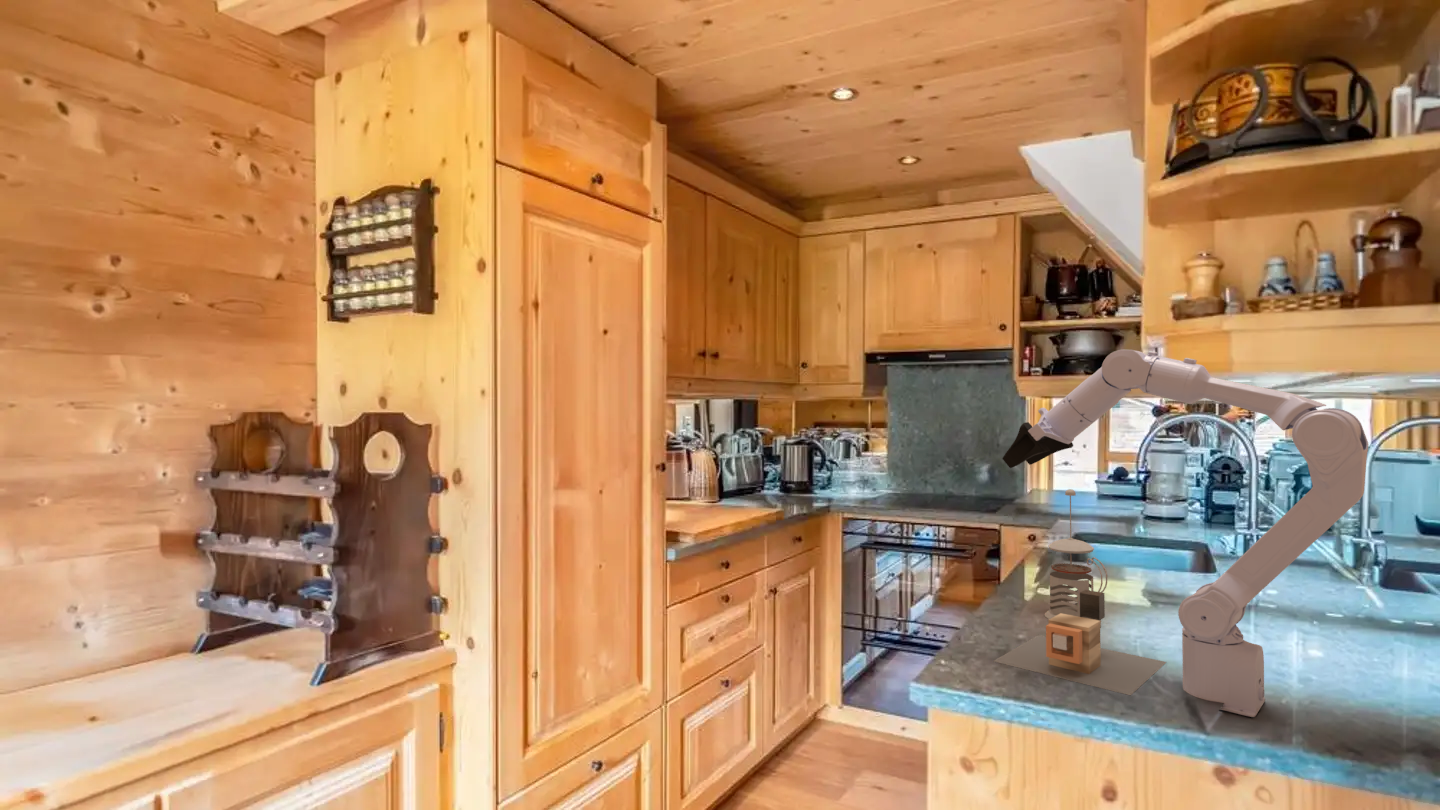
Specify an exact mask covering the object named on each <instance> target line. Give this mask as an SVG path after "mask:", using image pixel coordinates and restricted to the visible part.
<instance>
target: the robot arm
mask: <svg viewBox="0 0 1440 810" xmlns="http://www.w3.org/2000/svg"><path fill="white" fill-rule="evenodd" d="M1197 361H1198V360H1197V359H1194V358H1189V357H1185V358H1184V359H1183V360H1179V359H1175V358H1171V357H1165V356H1161V355H1159V353H1158V352H1157V351H1152V350H1151V351H1150V350H1149V351H1148V352H1147V354H1146V353H1145V352H1142V351H1139V350H1134V349H1124V348H1123V349H1118V350H1115V351H1112V352H1111V353H1109V354H1108V355H1107V356H1106V357H1105V359H1104V360H1103V362H1102V364H1101V367H1100V368H1098V369H1097V370H1096V371H1095V372H1094V373H1093V374H1091V375H1089V376H1088V377H1086V378H1085V379H1084V380H1083V381H1082V382H1081V383H1079V384H1078V385H1077V386H1076V387H1075V388H1074V389H1072V391H1071V392H1069V393H1068V394H1067V395H1065V396H1064V397H1063V398H1062V399H1061V400H1059V402H1058V403H1056V405H1054V406H1053V407H1051V409H1049V410H1048V409H1047V408H1046V407H1040V408H1039V409H1038V410H1037V411H1038V413H1039V414H1040V417H1039V420H1038V422H1036V424H1033V425H1031V423H1030V422H1028V421H1027V422H1023V423H1022V424H1021V425H1020V426H1019V429H1018V431H1017V432H1018V433H1017V435H1016V437H1015V439H1014V441H1013V443H1012V444H1011V445H1010V446H1009V448H1008V450H1007V451H1006V452H1005V454H1004V455H1003V456H1002V458H1001V459H1002V461H1003V462H1004V463H1005V464H1006V465H1007V467H1008V468H1010V469H1013V468H1015V467H1017V466H1019V465H1020V464H1022V463H1024V462H1025V461H1026V462H1027V464H1028V465H1029V466H1031V465H1034V464H1036V463H1038V462H1039V461H1041V460H1043V459H1045V458H1047V457H1049V456H1050V455H1052V454H1054V453H1058V452H1060V451H1064V450H1067V449H1072V448H1073V447H1074V443H1073V442H1074V440H1075V439H1076V438H1077V436H1079V435H1080V434H1081V433H1083V432H1084V431H1085V430H1086V429H1088V428H1089V427H1090V426H1092V424H1094V423H1095V422H1096V421H1097V420H1099V418H1102V416H1104V415H1105V414H1106V413H1107V412H1109V411H1110V410H1111V409H1113V408H1114V407H1115V406H1116V405H1117V404H1118V403H1119V402H1120V401H1121V400H1122V399H1123V398H1124V397H1126V395H1128V394H1129V393H1130V392H1132V390H1136V389H1137V390H1138V389H1140V391H1142V392H1143V393H1145V394H1149V395H1152V396H1156V397H1160V398H1165V399H1167V400H1172V401H1175V402H1180V403H1184V404H1189V405H1192V404H1195V403H1196V402H1199V401H1200V400H1202V399H1208V400H1211V401H1214V402H1218V403H1221V404H1225V405H1229V406H1231V407H1232V406H1233V407H1236V408H1240V409H1244V410H1248V411H1251V412H1255V413H1258V414H1262V415H1265V416H1267V417H1268V418H1269V419H1271V421H1272V422H1273V423H1275V424H1276V425H1277V426H1278V427H1279V428H1280V430H1281V431H1287V430H1291V429H1292V430H1291V437H1292V442H1293V445H1295V447H1296V448H1297V450H1298V452H1299V453H1300V454H1301V456H1302V458H1304V460H1305V461H1306V463H1307V467H1308V472H1309V475H1310V480H1311V484H1312V487H1311V489H1310V490H1309V491H1308V492H1307V493H1305V494H1304V495H1303V497H1301V498H1300V499H1299V500H1298V501H1297V502H1296V503H1295V504H1294V505H1293V506H1292V507H1291V508H1290V509H1289V510H1288V511H1287V512H1286V513H1285V514H1283V515H1282V517H1280V518H1279V520H1277V521H1276V523H1274V524H1273V525H1272V526H1271V528H1269V529H1268V530H1267V531H1266V532H1265V533H1264V534H1263V535H1262V536H1261V537H1259V539H1258V540H1256V542H1254V544H1253V545H1251V547H1249V548H1248V550H1246V551H1245V552H1244V553H1243V555H1241V556H1240V557H1239V558H1238V559H1237V560H1236V561H1235V562H1234V563H1233V564H1232V565H1231V566H1230V567H1229V568H1228V569H1227V570H1226V571H1225V572H1224V573H1222V575H1220V576H1219V577H1217V579H1216V580H1214V582H1209V583H1206V584H1203V585H1201V586H1200V587H1199V588H1198V589H1196V592H1194V593H1193V594H1191V595H1189V596H1187V597H1185V598H1184V599H1183V600H1182V601H1181V603H1180V604H1179V607H1178V613H1177V615H1178V619H1179V622H1180V624H1181V626H1182V628H1181V630H1182V631H1181V632H1182V635H1181V637H1182V642H1181V643H1182V644H1181V645H1182V654H1181V655H1182V690H1183V691H1184V692H1185V693H1187V694H1189V695H1191V696H1193V697H1196V698H1199V699H1202V700H1205V701H1208V702H1209V701H1210V702H1215V703H1221V704H1222V703H1223V704H1222V706H1221V707H1220V708H1219V711H1220V710H1222V711H1225V712H1229V713H1233V714H1236V715H1237V714H1238V715H1242V716H1246V717H1249V718H1250V717H1251V718H1255V717H1256V716H1257V714H1258V712H1259V711H1260V710H1261V708H1262V707H1263V705H1264V703H1265V702H1266V698H1265V662H1264V661H1265V659H1264V658H1265V655H1264V650H1263V649H1264V648H1263V646H1262V645H1260V644H1256V643H1252V642H1249V641H1247V640H1245V639H1244V635H1243V634H1242V632H1241V630H1240V629H1239V627H1238V625H1237V624H1238V623H1240V621H1242V620H1243V618H1244V615H1245V612H1246V608H1247V605H1248V604H1249V603H1250V602H1251V601H1252V600H1253V599H1254V598H1255V597H1256V596H1257V595H1258V594H1259V593H1260V592H1262V591H1263V590H1264V589H1265V588H1266V587H1267V586H1269V584H1270V583H1272V582H1273V581H1274V579H1276V578H1277V577H1278V576H1279V575H1280V574H1282V573H1283V572H1284V570H1286V569H1287V568H1288V567H1289V566H1290V565H1291V564H1292V563H1293V562H1294V561H1296V559H1297V558H1298V557H1299V556H1301V555H1302V554H1303V553H1304V552H1305V551H1306V550H1307V549H1308V548H1309V547H1311V546H1312V544H1314V543H1315V542H1316V541H1317V540H1319V538H1321V536H1322V535H1324V533H1326V532H1327V531H1328V530H1329V529H1330V528H1331V527H1332V526H1333V525H1334V524H1335V523H1336V522H1338V520H1340V519H1341V518H1342V517H1343V516H1344V515H1346V513H1347V512H1349V510H1351V508H1352V507H1354V506H1355V505H1356V504H1357V503H1358V502H1359V501H1360V500H1361V498H1362V497H1363V495H1364V493H1365V484H1366V471H1367V459H1368V451H1369V442H1368V439H1367V435H1366V433H1365V431H1364V428H1363V425H1362V423H1361V422H1360V420H1359V419H1358V418H1357V417H1356V416H1355V415H1354V414H1353V413H1351V412H1349V411H1347V410H1345V409H1340V408H1337V407H1336V408H1334V407H1332V408H1331V407H1328V408H1323V409H1317V408H1322V407H1326V406H1327V404H1325V403H1322V402H1320V401H1317V400H1313V399H1311V398H1307V397H1305V396H1302V395H1298V394H1296V393H1292V392H1288V391H1282V390H1278V389H1277V390H1276V389H1272V388H1267V387H1262V386H1257V385H1253V384H1247V383H1241V382H1237V381H1233V380H1227V379H1222V378H1217V377H1213V376H1212V375H1211V374H1210V373H1209V371H1208V369H1207V367H1205V366H1204V365H1202V364H1200V363H1199V364H1198V363H1197Z"/></svg>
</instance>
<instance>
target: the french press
mask: <svg viewBox="0 0 1440 810" xmlns="http://www.w3.org/2000/svg"><path fill="white" fill-rule="evenodd" d="M1064 496H1069V537H1068V538H1062V539H1057V540H1054V541H1052V542H1051V543H1050V544H1048V549H1049V550H1051V551H1053V552H1058V553H1063V554H1064V553H1065V554H1069V555H1070V556H1069V557H1070V558H1069V560H1070V563H1060V562H1059V563H1055V564H1052V565H1051V566H1050V568H1051V569H1052V570H1053V571H1051V572H1049V610H1047V611H1046V612H1044V617H1045V618H1046V619H1048V620H1049V619H1051V618H1053V617H1055V616H1056V615H1058V614H1060V613H1062V614H1067V615H1073V616H1078V617H1080V592H1082V591H1084V590H1089V591H1094V576H1093V575H1091V574H1090V573H1091V572H1092V571H1093V570H1092V568H1091V567H1090V566H1092V565H1093V564H1094V565H1095V566H1096V568H1097V569H1098V571H1099V573H1100V585H1099V588H1098V591H1097V592H1101V593H1105V590H1106V588H1107V585H1108V573H1107V569H1106V567H1105V565H1104V564H1103V562H1102V561H1100V560H1099V559H1098V558H1096V557H1095V556H1093V557H1092V558H1089V557H1088V558H1087V559H1086V565H1082V564H1080V565H1079V564H1075V563H1072V554H1074V555H1075V554H1079V555H1080V554H1082V555H1083V554H1090V553H1092V552H1093V551H1094V550H1095V547H1093V546H1092V545H1091V544H1089V543H1088V542H1085V541H1083V540H1079V539H1075V538H1073V537H1072V496H1075V497H1076V490H1074V489H1072V488H1071V489H1070V488H1068V489H1067V490H1066V491H1065V494H1064ZM1094 560H1096V561H1097V562H1099V564H1100V565H1101V566H1102V568H1103V570H1104V574H1105V585H1104V587H1103V583H1104V582H1103V573H1102V570H1101V568H1100V566H1099V565H1098V564H1097V562H1096V561H1094ZM1089 561H1091V563H1089ZM1102 587H1103V589H1102ZM1073 589H1077V590H1073ZM1090 589H1091V590H1090ZM1072 595H1074V596H1075V597H1074V596H1072ZM1072 602H1075V603H1072Z"/></svg>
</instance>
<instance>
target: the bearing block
mask: <svg viewBox="0 0 1440 810" xmlns="http://www.w3.org/2000/svg"><path fill="white" fill-rule="evenodd" d="M1047 621H1048V623H1047V625H1048V624H1055V625H1060V626H1065V627H1070V628H1075V629H1080V630H1082V655H1083V662H1081V663H1080V664H1076V663H1072V662H1067V661H1063V660H1059V659H1054V658H1050V657H1049V665H1053V666H1058V667H1062V668H1066V669H1070V670H1074V671H1079V672H1083V673H1087V674H1090V673H1091V672H1093V671H1094V670H1095V669H1096V668H1098V667H1099V666H1100V665H1101V653H1100V648H1101V628H1100V621H1099V620H1094V619H1089V618H1083V617H1078V616H1073V615H1067V614H1062V613H1060V614H1058V615H1056V616H1055V617H1053V618H1051V619H1048V620H1047ZM1055 650H1056V651H1061V652H1065V653H1070V654H1073V646H1072V647H1071V648H1069V649H1068V650H1063V649H1058V648H1055Z"/></svg>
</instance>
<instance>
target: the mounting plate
mask: <svg viewBox="0 0 1440 810" xmlns="http://www.w3.org/2000/svg"><path fill="white" fill-rule="evenodd" d="M1100 653H1101V665H1100V666H1099V667H1098V668H1096V669H1095V670H1094V671H1093V672H1091V673H1090V674H1087V673H1083V672H1079V671H1074V670H1070V669H1066V668H1062V667H1058V666H1053V665H1049V657H1046V635H1041V634H1037V635H1036V636H1034V637H1032V638H1030V639H1028V640H1026V642H1024V643H1022V644H1021V645H1019V646H1017V647H1015V648H1013V649H1012V650H1010V651H1007V652H1006V653H1005V654H1003V655H1001V656H1000V657H998V658H996V659H994V660H993V661H992V662H993V663H996V664H997V663H998V664H1001V665H1007V666H1009V667H1015V668H1018V669H1023V670H1024V671H1025V670H1026V671H1031V672H1034V673H1038V674H1042V675H1046V676H1050V677H1055V678H1058V679H1063V680H1066V681H1070V682H1075V683H1079V684H1083V685H1087V686H1091V687H1094V688H1095V687H1096V688H1099V689H1103V690H1106V691H1111V692H1115V693H1118V694H1123V695H1128V696H1132V695H1133V694H1135V692H1136V691H1137V690H1138V689H1140V688H1141V687H1142V686H1143V685H1144V684H1145V683H1146V682H1147V681H1148V680H1149V679H1151V678H1152V676H1154V675H1155V673H1157V672H1159V670H1160V669H1161V668H1162V667H1164V666H1165V665H1166V664H1167V661H1163V660H1159V659H1154V658H1149V657H1145V656H1139V655H1135V654H1130V653H1125V652H1120V651H1116V650H1111V649H1107V648H1102V647H1100Z"/></svg>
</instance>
